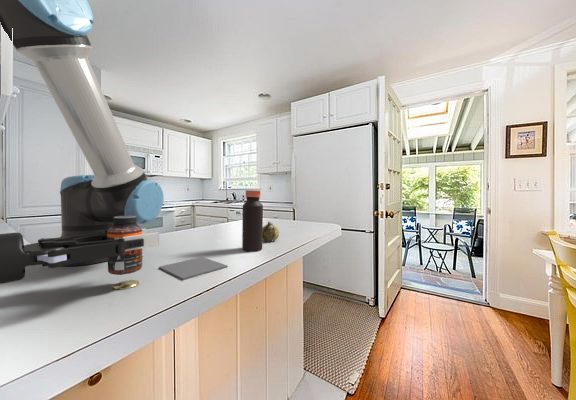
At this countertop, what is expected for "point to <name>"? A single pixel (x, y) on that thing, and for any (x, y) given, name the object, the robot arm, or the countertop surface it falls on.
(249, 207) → the vinegar
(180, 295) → the countertop surface
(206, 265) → the rubber mat
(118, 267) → the supplement bottle
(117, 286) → the brass marker
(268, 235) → the onion
